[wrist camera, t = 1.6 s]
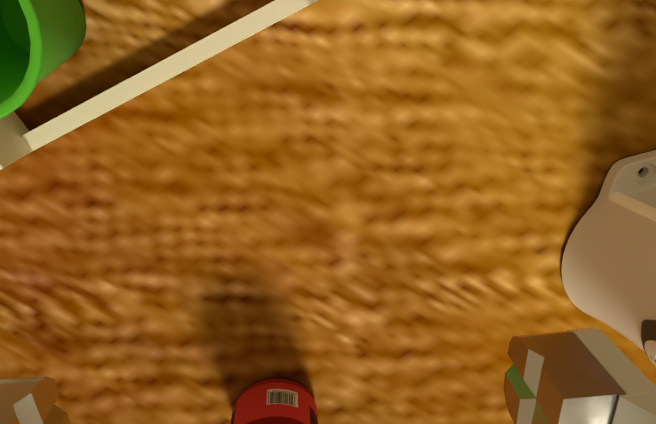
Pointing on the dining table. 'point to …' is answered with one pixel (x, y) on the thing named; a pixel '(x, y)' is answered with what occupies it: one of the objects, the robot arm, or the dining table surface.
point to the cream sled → (138, 82)
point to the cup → (35, 44)
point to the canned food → (275, 404)
